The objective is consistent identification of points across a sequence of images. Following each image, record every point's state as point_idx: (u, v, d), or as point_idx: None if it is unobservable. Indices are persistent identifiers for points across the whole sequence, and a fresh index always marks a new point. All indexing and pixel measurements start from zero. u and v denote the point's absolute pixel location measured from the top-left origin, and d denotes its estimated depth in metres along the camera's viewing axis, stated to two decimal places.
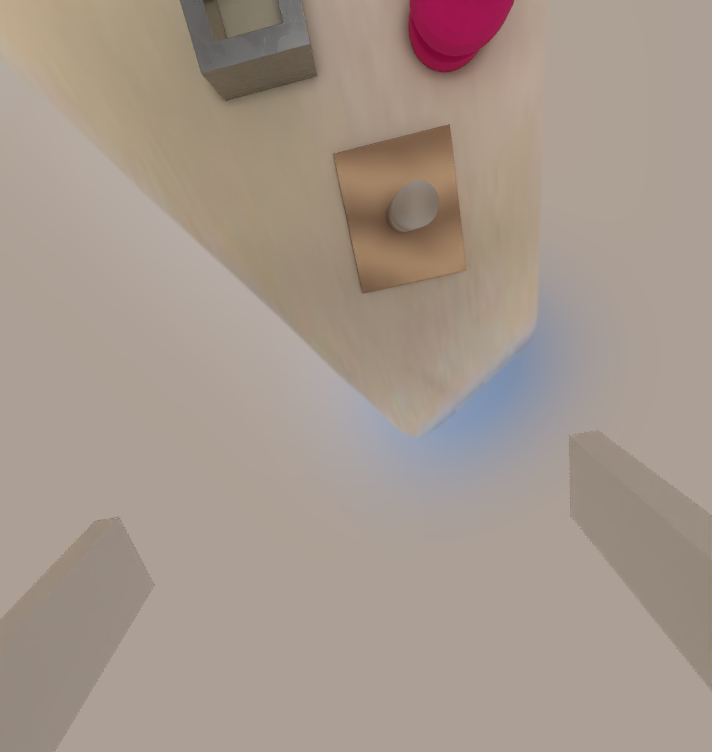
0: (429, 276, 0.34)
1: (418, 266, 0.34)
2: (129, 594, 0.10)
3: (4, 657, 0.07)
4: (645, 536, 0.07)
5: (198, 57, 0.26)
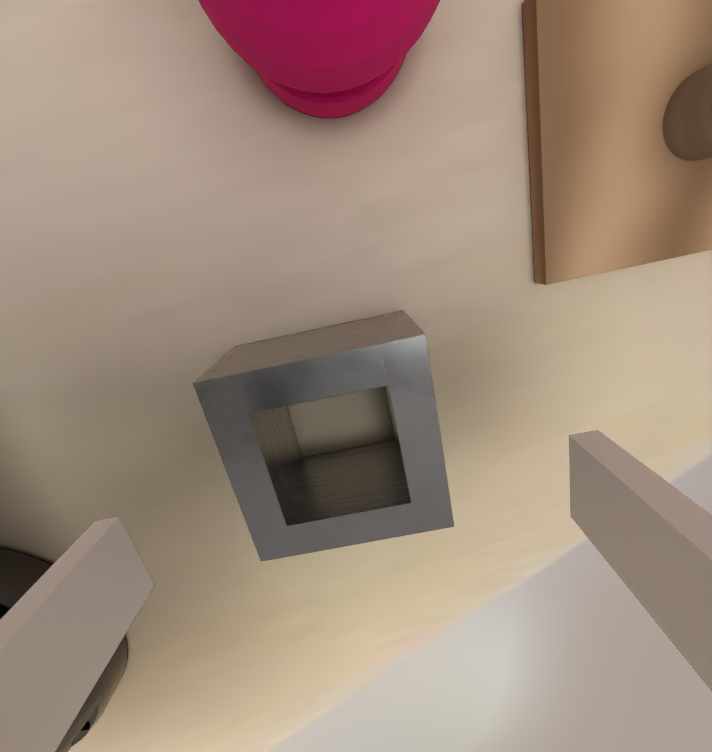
0: None
1: None
2: (129, 594, 0.10)
3: (4, 657, 0.07)
4: (646, 536, 0.07)
5: (431, 528, 0.15)
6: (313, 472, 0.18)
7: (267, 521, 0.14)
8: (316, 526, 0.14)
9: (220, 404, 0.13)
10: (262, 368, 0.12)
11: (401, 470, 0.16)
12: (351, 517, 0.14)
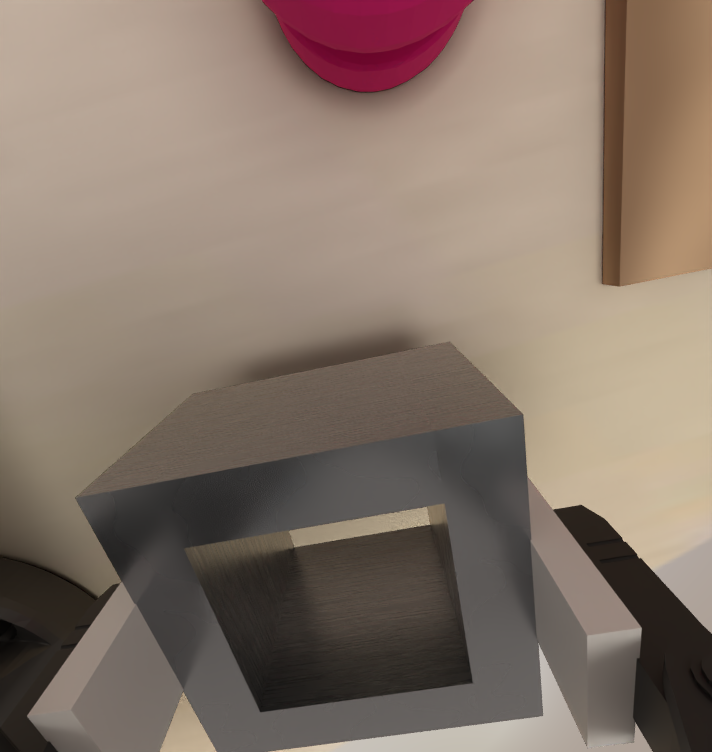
0: None
1: None
2: None
3: None
4: None
5: (503, 718, 0.09)
6: (309, 581, 0.12)
7: (226, 706, 0.08)
8: (310, 713, 0.09)
9: (130, 533, 0.07)
10: (204, 473, 0.06)
11: (446, 595, 0.10)
12: (370, 701, 0.08)
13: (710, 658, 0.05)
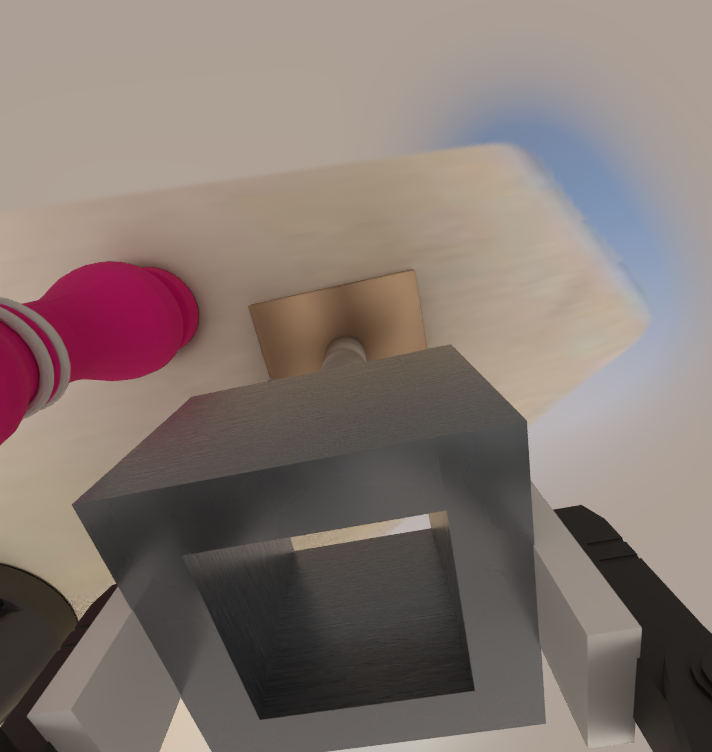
0: (419, 319, 0.26)
1: (406, 334, 0.27)
2: None
3: None
4: None
5: (505, 726, 0.09)
6: (309, 586, 0.12)
7: (225, 713, 0.08)
8: (310, 721, 0.08)
9: (128, 540, 0.07)
10: (203, 479, 0.06)
11: (447, 600, 0.10)
12: (370, 708, 0.08)
13: (711, 658, 0.05)
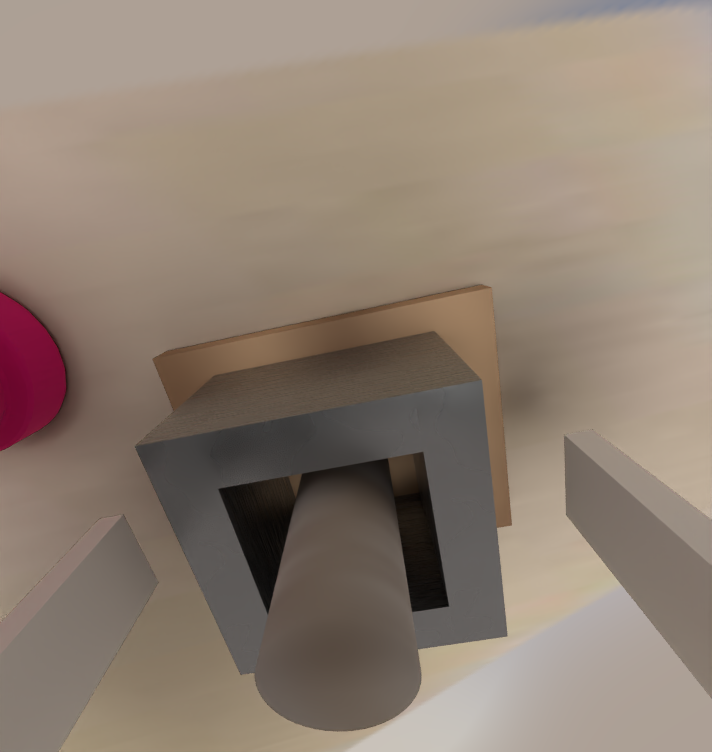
0: (495, 384, 0.13)
1: None
2: (133, 591, 0.10)
3: (11, 652, 0.07)
4: (639, 535, 0.07)
5: (475, 638, 0.10)
6: None
7: (247, 627, 0.10)
8: None
9: (176, 476, 0.09)
10: (236, 426, 0.08)
11: (430, 545, 0.12)
12: None
13: None
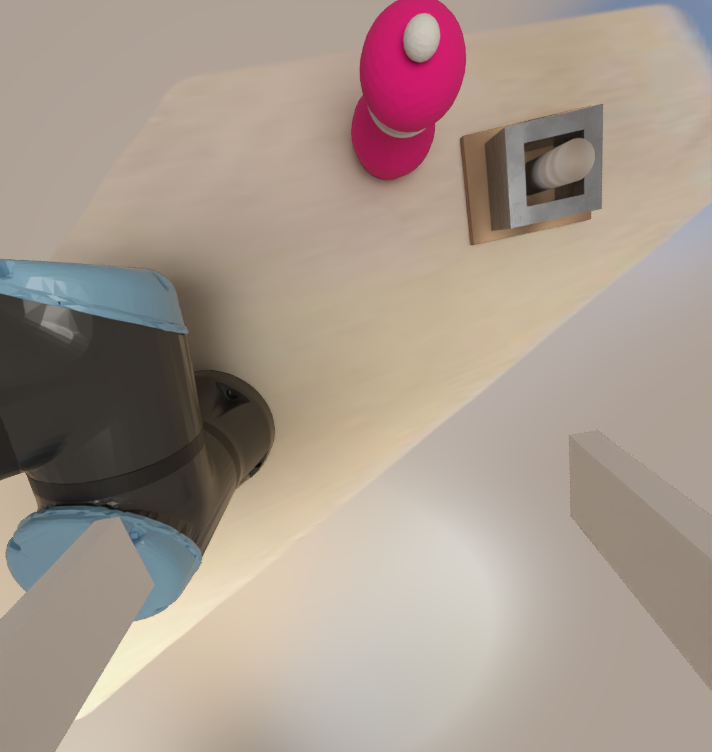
0: None
1: None
2: (129, 594, 0.10)
3: (4, 657, 0.07)
4: (646, 536, 0.07)
5: (591, 209, 0.32)
6: None
7: (518, 204, 0.32)
8: (540, 207, 0.32)
9: (513, 138, 0.31)
10: (534, 120, 0.30)
11: (569, 197, 0.34)
12: (556, 202, 0.32)
13: None
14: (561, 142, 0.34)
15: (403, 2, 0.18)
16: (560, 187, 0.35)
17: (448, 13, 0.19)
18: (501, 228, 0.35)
